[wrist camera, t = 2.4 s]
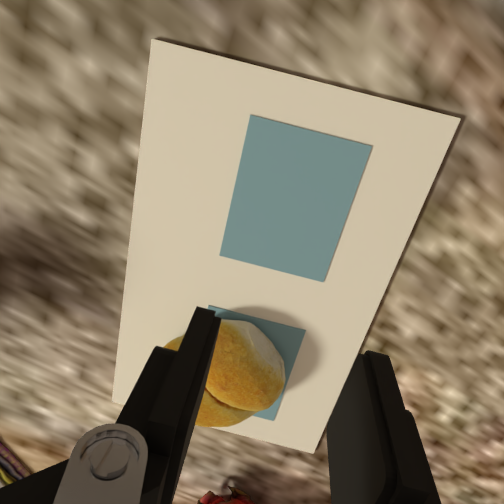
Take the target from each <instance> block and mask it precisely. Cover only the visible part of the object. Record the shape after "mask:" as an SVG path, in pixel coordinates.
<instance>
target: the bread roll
mask: <svg viewBox="0 0 504 504" xmlns="http://www.w3.org/2000/svg"><path fill="white" fill-rule="evenodd" d="M184 335H185V334H184ZM184 335H182V336H180V337H177V338H175V339H173V340H171V341H170V342H168V343H167V344H166V345H165V346H164V348H168V349H172V350H175V351H178V349H179V347H180V344H181V342H182V340H183V337H184ZM285 379H286V378H285V368H284V361H283V359H282V357H281V355H280V354H279V353H278V351H277V350H276V348H275V347H274V345H273V343H272V342H271V341H270V340H269V339H268V338H267V337H266V335H265V334H264V333H263V332H261V331H260V330H259V328H257V327H256V326H255V325H253V324H252V323H249V322H246V321H240V320H226V319H222V320H221V324H220V328H219V333H218V337H217V341H216V345H215V349H214V353H213V357H212V361H211V366H210V370H209V374H208V378H207V382H206V386H205V390H204V394H203V398H202V401H201V405H200V408H199V412H198V415H197V419H196V422H195V425H198V426H203V427H229V426H233V425H236V424H238V423H240V422H242V421H244V420H246V419H248V418H249V417H251V416H252V415H254V414H255V413H257V412H258V411H262V410H265V409H268V408H269V407H270V406H272V405H273V403H274V402H275V401H276V400H277V399H278V397H279V396H280V394H281V392H282V390H283V388H284V384H285Z"/></svg>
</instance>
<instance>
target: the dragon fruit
mask: <svg viewBox="0 0 504 504" xmlns="http://www.w3.org/2000/svg"><path fill="white" fill-rule="evenodd" d="M228 487H229V489H230V490H231V491H232V495H231V501H228V502H226V501H225V500H224V499H223V498H222V497H220V496H218V495H215V494H214V493H213V492H211V491H209V492H208V493H207V494H205V495H204V496H203V497H202V498H201V499H200V500H198V503H197V504H255V503H254V502H252V501H251V500H250V496H249V495H248V494H246V493H244V492H243V491H241V490H239V489H237V488H234V487H230V486H228Z"/></svg>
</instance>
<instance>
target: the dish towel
mask: <svg viewBox="0 0 504 504" xmlns="http://www.w3.org/2000/svg"><path fill="white" fill-rule="evenodd" d="M30 475H31V474H30V473H29V472H28V471H27V470H26V469H25V468H24V466H23V465H22V464H21V463H20V462H19V461H18V460H17V459H16V458H15V456H14V455H13V454H12V453H10V451H9V450H8V449H7V448H6V447H4V446H3V445H2V444H1V443H0V488H1V487H4V486H6V485H8V484H11V483H13V482H15V481H18V480H20V479H22V478H25V477H27V476H30Z"/></svg>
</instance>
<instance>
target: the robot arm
mask: <svg viewBox="0 0 504 504" xmlns="http://www.w3.org/2000/svg"><path fill="white" fill-rule="evenodd" d="M215 313H216V311H214V310H210V309H206V308H202V307H198V306H197V307H196V309H195V311H194V314H193V316H192V318H191V321H190V323H189V325H188V328H187V330H186V332H185V335H184V337H183V340H182V342H181V344H180V347H179V349H178V351H175V350H172V349H168V348H164V347H160V346H155V347H154V349H153V351H152V353H151V355H150V357H149V358H148V360H147V362H146V364H145V366H144V368H143V370H142V372H141V374H140V376H139V378H138V380H137V382H136V384H135V386H134V388H133V390H132V392H131V394H130V396H129V398H128V400H127V401H126V403H125V405H124V407H123V409H122V411H121V413H120V415H119V417H118V419H117V421H116V423H115V424H105V425H101V426H98V427H95V428H94V429H92V430H90V431H88V432H86V433H85V434H84V435H83V436H82V437H81V438H80V439H79V440H78V442H77V443H76V445H75V447H74V449H73V450H72V453H71V456H70V459H67V460H65V461H63V462H60V463H58V464H56V465H53V466H51V467H48V468H46V469H44V470H41V471H39V472H37V473H34V474H32V475H30V476H27V477H25V478H22V479H20V480H18V481H15V482H13V483H11V484H8V485H6V486H4V487H1V488H0V504H172V501H173V498H174V494H175V491H176V487H177V484H178V481H179V477H180V474H181V470H182V467H183V463H184V460H185V457H186V453H187V450H188V446H189V443H190V439H191V436H192V432H193V429H194V426H195V422H196V419H197V415H198V412H199V408H200V405H201V401H202V398H203V394H204V390H205V386H206V382H207V378H208V374H209V370H210V366H211V361H212V357H213V353H214V349H215V345H216V341H217V337H218V333H219V328H220V324H221V320H222V318H220V317H216V316H215ZM327 447H328V461H329V475H330V489H331V503H332V504H441V501H440V498H439V495H438V492H437V489H436V485H435V482H434V479H433V476H432V473H431V470H430V467H429V464H428V461H427V457H426V454H425V451H424V448H423V445H422V442H421V439H420V436H419V432H418V429H417V426H416V423H415V420H414V417H413V415H412V413H411V412H410V411H409V410H405V406H404V403H403V400H402V397H401V393H400V390H399V387H398V383H397V380H396V377H395V374H394V370H393V367H392V364H391V360H390V358H389V356H388V355H385V354H381V353H377V352H373V351H369V350H368V351H366V352H365V354H358V356H357V358H356V360H355V362H354V364H353V367H352V369H351V371H350V373H349V376H348V378H347V380H346V382H345V385H344V387H343V389H342V391H341V394H340V396H339V398H338V401H337V403H336V405H335V407H334V410H333V412H332V414H331V416H330V419H329V421H328V425H327Z"/></svg>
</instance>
